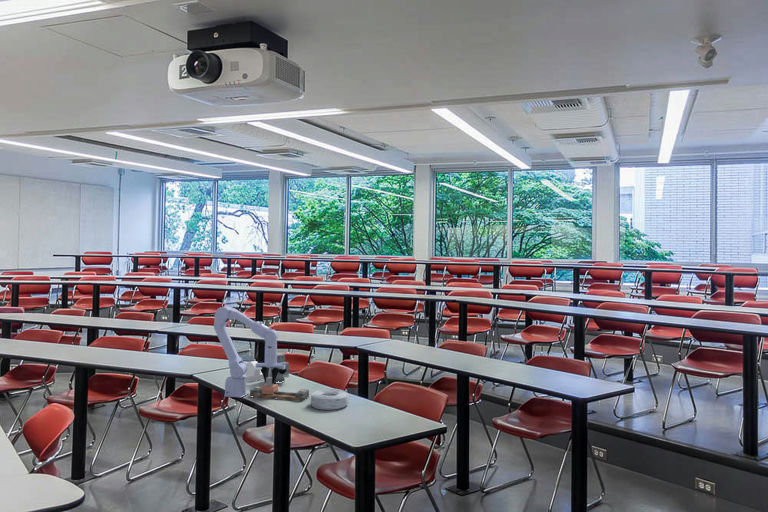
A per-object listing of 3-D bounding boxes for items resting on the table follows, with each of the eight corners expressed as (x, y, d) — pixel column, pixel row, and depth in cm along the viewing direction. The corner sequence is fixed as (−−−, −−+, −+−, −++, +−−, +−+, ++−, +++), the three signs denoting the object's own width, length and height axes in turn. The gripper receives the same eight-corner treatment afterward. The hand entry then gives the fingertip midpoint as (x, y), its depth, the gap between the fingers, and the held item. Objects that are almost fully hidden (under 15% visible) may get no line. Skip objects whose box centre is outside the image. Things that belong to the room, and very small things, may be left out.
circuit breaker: (277, 386, 285) (278, 357, 285) (264, 381, 296) (265, 353, 296) (290, 384, 290) (290, 356, 290) (277, 379, 301) (277, 352, 301)
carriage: (261, 393, 263) (261, 378, 263) (266, 390, 269) (266, 376, 269) (273, 394, 262) (273, 379, 262) (278, 391, 268) (278, 376, 268)
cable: (342, 399, 263) (342, 387, 263) (353, 409, 247) (353, 396, 247) (306, 402, 257) (307, 389, 257) (315, 412, 241) (316, 398, 241)
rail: (249, 397, 263) (250, 389, 263) (256, 393, 271) (256, 385, 271) (303, 401, 258) (303, 393, 258) (308, 397, 266) (309, 389, 266)
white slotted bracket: (271, 379, 303) (272, 360, 303) (242, 383, 290) (242, 364, 290) (262, 376, 310) (262, 358, 310) (233, 380, 297) (233, 361, 297)
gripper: (287, 354, 268) (287, 382, 268) (260, 352, 271) (259, 380, 271) (282, 357, 261) (281, 385, 261) (254, 355, 264) (253, 383, 264)
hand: (270, 383), depth 265 cm, fingers closed on carriage, 3 cm apart
